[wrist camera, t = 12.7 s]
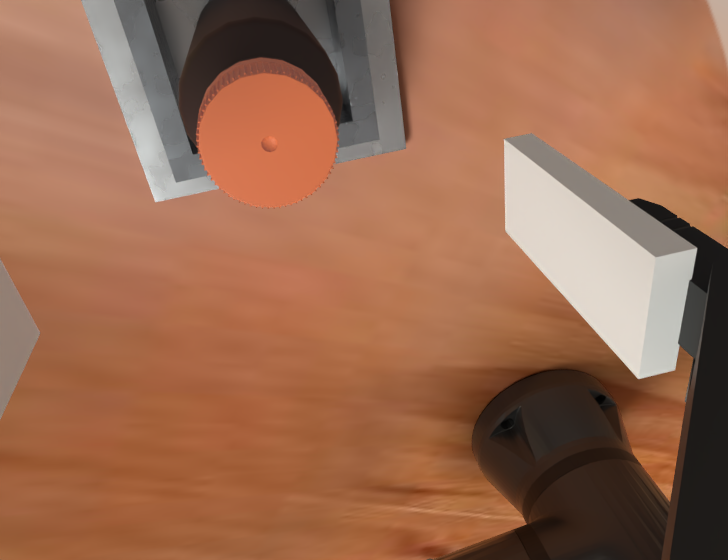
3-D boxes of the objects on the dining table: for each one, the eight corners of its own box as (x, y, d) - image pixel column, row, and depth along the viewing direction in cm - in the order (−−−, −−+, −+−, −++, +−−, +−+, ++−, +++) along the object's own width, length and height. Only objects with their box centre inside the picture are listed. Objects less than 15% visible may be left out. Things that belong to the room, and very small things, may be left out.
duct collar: (403, 145, 44) (421, 168, 39) (156, 197, 42) (149, 227, 38) (368, -157, 34) (387, -168, 30) (46, -103, 32) (20, -107, 28)
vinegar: (230, -43, 35) (230, -8, 18) (326, 27, 38) (404, 114, 21) (175, 58, 37) (130, 174, 20) (269, 117, 40) (299, 262, 23)
